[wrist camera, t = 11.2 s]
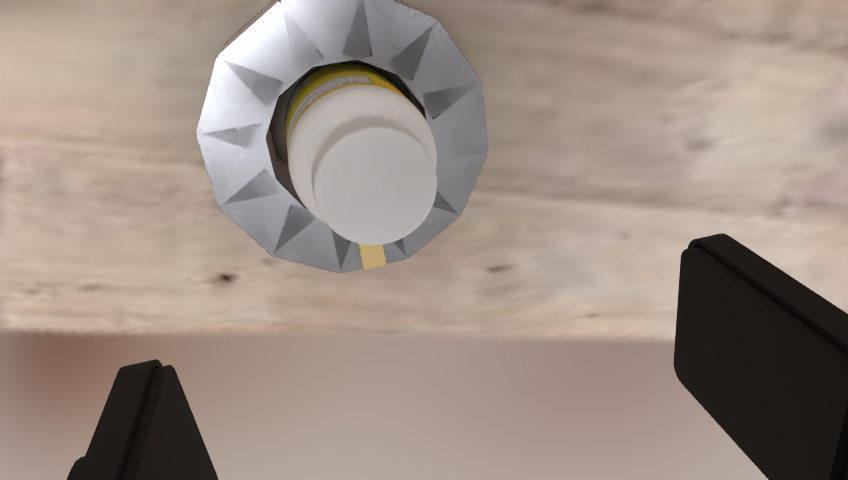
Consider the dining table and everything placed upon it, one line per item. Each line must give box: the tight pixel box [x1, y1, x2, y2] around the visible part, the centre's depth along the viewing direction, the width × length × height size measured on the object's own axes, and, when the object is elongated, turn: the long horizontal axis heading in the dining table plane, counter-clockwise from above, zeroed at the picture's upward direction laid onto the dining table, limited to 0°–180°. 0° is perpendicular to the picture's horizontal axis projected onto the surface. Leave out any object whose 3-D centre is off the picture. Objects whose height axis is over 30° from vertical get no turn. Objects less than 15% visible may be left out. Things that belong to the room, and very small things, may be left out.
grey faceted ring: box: [196, 0, 488, 273], centre depth 26 cm, size 12×12×4 cm
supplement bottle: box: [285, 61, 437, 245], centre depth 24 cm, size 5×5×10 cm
